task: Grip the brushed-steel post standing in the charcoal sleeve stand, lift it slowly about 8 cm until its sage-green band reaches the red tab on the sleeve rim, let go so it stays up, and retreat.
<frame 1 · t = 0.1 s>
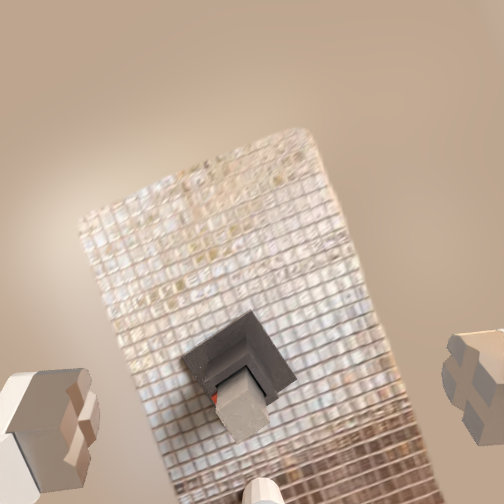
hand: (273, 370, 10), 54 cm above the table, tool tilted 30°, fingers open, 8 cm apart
sleeve stand: (239, 365, 64), on the table
steel post: (241, 389, 53), point 11 cm above the table, slide at 0.0 cm
white tapered cup: (261, 495, 65), on the table
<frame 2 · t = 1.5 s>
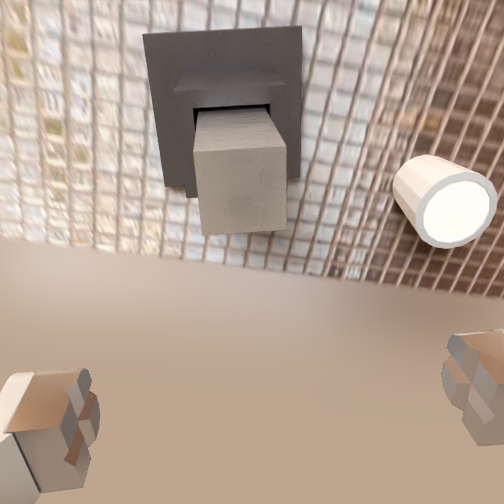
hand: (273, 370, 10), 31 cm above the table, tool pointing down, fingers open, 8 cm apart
sleeve stand: (227, 108, 37), on the table
steel post: (233, 141, 27), point 11 cm above the table, slide at 0.0 cm
white tapered cup: (420, 182, 42), on the table
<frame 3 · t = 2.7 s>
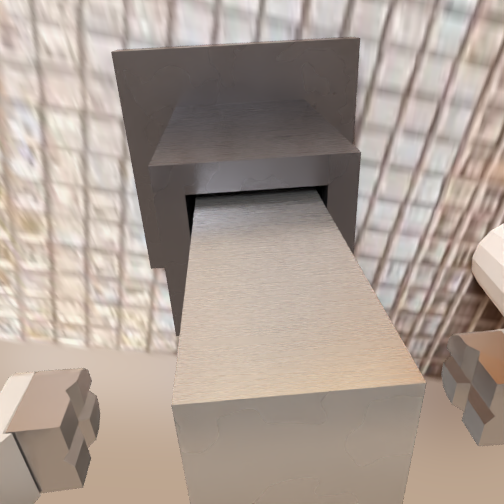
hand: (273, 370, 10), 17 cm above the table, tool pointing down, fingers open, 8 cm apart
sleeve stand: (242, 158, 25), on the table
steel post: (257, 243, 16), point 11 cm above the table, slide at 0.0 cm
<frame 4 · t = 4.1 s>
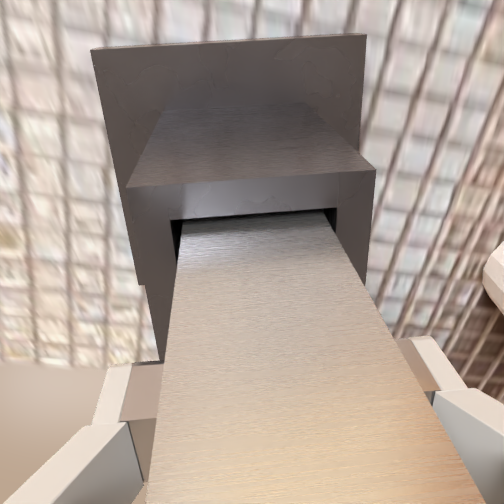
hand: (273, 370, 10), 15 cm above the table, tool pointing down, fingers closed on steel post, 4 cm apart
sleeve stand: (237, 165, 23), on the table
steel post: (255, 271, 14), point 11 cm above the table, slide at 0.0 cm, touching gripper
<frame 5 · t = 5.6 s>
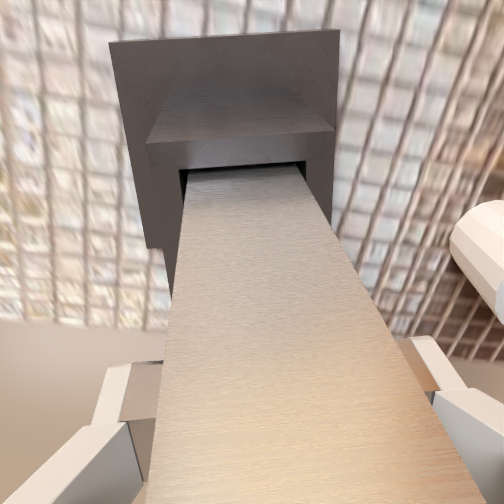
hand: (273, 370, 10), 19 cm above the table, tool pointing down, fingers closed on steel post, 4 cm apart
sleeve stand: (232, 143, 27), on the table
steel post: (254, 269, 14), point 15 cm above the table, slide at 4.2 cm, touching gripper
white tapered cup: (485, 234, 32), on the table
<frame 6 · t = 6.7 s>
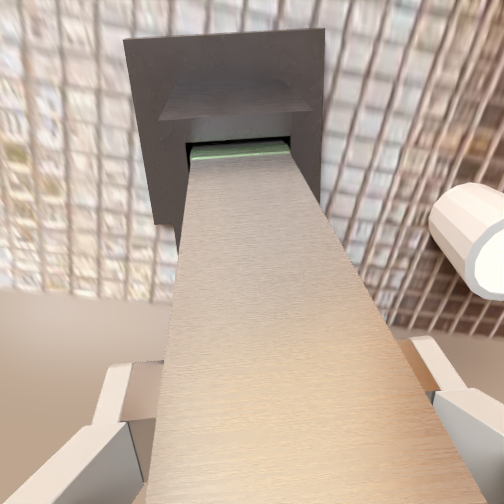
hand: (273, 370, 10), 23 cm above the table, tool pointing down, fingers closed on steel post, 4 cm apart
sleeve stand: (231, 130, 30), on the table
steel post: (255, 269, 14), point 19 cm above the table, slide at 7.9 cm, touching gripper
white tapered cup: (461, 215, 35), on the table
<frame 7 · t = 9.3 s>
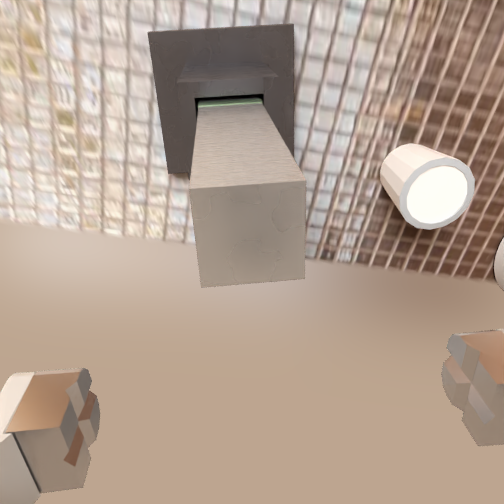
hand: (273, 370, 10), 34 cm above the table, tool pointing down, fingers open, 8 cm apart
sleeve stand: (226, 100, 40), on the table
steel post: (237, 162, 24), point 19 cm above the table, slide at 7.9 cm
white tapered cup: (405, 170, 45), on the table
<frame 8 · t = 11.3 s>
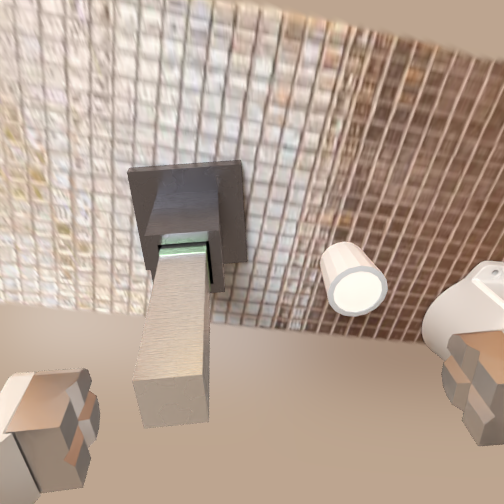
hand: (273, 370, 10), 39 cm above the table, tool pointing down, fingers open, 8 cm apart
sleeve stand: (191, 214, 50), on the table
steel post: (181, 311, 34), point 19 cm above the table, slide at 7.9 cm
white tapered cup: (341, 260, 55), on the table
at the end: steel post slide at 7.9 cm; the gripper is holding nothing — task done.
